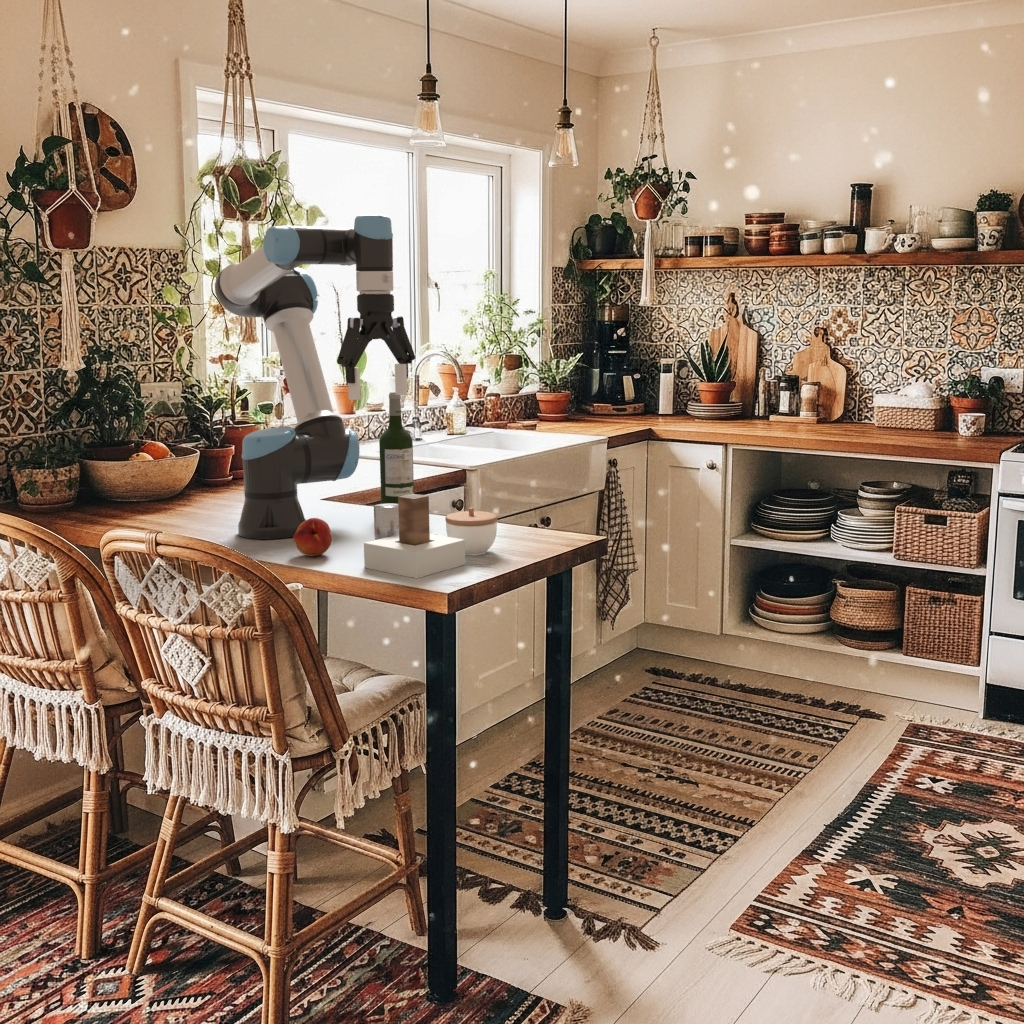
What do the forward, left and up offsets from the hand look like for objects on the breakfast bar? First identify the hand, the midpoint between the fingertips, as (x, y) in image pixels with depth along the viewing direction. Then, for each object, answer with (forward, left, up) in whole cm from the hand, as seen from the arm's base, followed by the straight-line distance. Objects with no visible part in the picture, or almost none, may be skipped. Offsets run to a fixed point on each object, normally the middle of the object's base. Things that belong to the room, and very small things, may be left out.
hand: (378, 397), depth 236 cm
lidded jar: (+19, +7, -32) cm, 38 cm away
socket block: (+18, -9, -32) cm, 38 cm away
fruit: (-5, -15, -32) cm, 36 cm away
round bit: (+6, -4, -32) cm, 33 cm away
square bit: (+18, -9, -32) cm, 38 cm away
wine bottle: (-20, +25, -32) cm, 45 cm away
